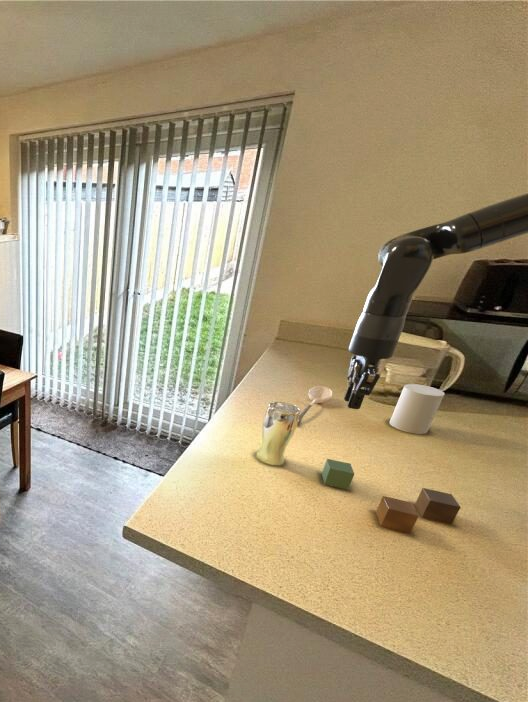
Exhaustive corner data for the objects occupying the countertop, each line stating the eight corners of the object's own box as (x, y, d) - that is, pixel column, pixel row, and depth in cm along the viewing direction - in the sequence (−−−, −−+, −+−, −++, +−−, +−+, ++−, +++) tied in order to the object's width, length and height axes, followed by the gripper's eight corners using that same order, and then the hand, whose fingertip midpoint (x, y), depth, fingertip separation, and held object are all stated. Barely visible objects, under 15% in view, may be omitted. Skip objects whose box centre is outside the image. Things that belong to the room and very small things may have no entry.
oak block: (403, 519, 81) (411, 502, 79) (410, 533, 77) (419, 516, 75) (375, 512, 83) (382, 495, 81) (380, 526, 79) (388, 508, 77)
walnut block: (442, 511, 83) (451, 494, 81) (451, 524, 79) (461, 507, 77) (414, 504, 85) (422, 487, 83) (421, 517, 81) (430, 500, 79)
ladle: (333, 397, 132) (337, 385, 129) (303, 438, 117) (307, 426, 115) (312, 391, 136) (315, 379, 134) (280, 430, 121) (283, 418, 119)
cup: (433, 435, 110) (451, 397, 105) (397, 431, 113) (413, 393, 108) (418, 422, 117) (434, 386, 112) (384, 418, 120) (398, 382, 115)
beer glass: (271, 450, 105) (285, 399, 99) (292, 464, 99) (308, 412, 93) (248, 452, 104) (261, 402, 98) (268, 468, 98) (283, 415, 92)
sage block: (344, 479, 93) (350, 463, 91) (348, 490, 90) (354, 473, 88) (321, 474, 95) (326, 458, 93) (324, 484, 92) (329, 468, 90)
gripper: (410, 344, 77) (379, 421, 84) (389, 327, 89) (364, 396, 96) (361, 340, 81) (336, 413, 88) (348, 324, 92) (326, 390, 99)
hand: (351, 404), depth 92 cm, fingers open, 3 cm apart
